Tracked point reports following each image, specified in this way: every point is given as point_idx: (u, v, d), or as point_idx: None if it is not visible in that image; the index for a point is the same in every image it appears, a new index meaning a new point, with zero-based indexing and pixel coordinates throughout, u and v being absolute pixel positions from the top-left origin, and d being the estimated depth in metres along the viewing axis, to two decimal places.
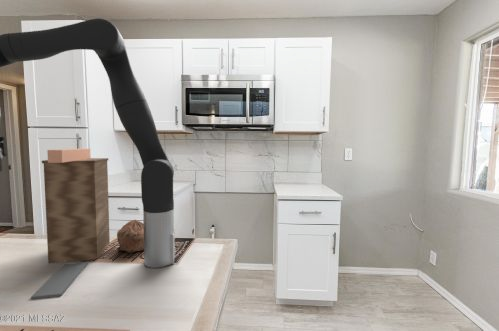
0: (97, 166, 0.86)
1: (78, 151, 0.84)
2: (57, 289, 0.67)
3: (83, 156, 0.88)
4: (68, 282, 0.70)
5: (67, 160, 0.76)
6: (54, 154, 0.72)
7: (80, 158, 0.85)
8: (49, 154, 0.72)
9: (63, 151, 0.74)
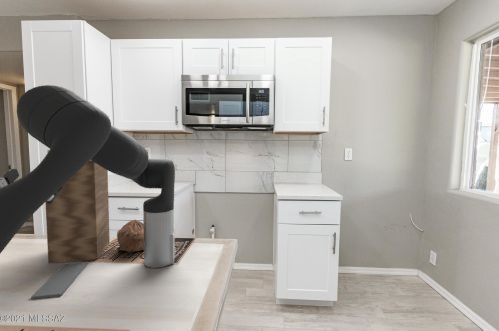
0: (97, 166, 0.86)
1: None
2: (57, 289, 0.67)
3: None
4: (68, 282, 0.70)
5: None
6: None
7: None
8: None
9: None
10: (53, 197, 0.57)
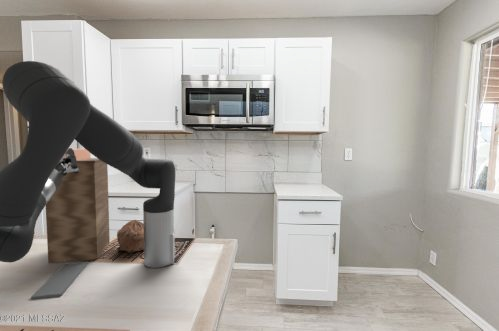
0: (97, 166, 0.86)
1: (78, 151, 0.84)
2: (57, 289, 0.67)
3: (83, 156, 0.88)
4: (68, 282, 0.70)
5: None
6: None
7: (80, 158, 0.85)
8: None
9: None
10: (78, 168, 0.73)
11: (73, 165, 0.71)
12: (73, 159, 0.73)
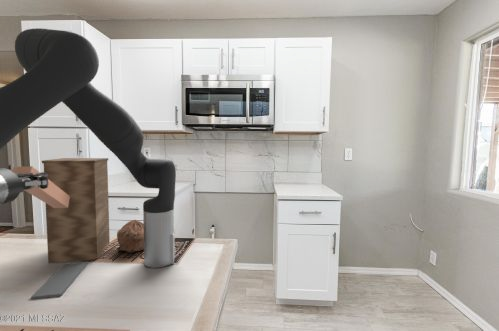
0: (97, 166, 0.86)
1: (54, 186, 0.68)
2: (57, 289, 0.67)
3: (59, 197, 0.71)
4: (68, 282, 0.70)
5: None
6: (20, 171, 0.58)
7: (54, 196, 0.69)
8: (14, 171, 0.57)
9: (33, 169, 0.59)
10: (47, 184, 0.56)
11: (41, 176, 0.55)
12: (43, 175, 0.57)
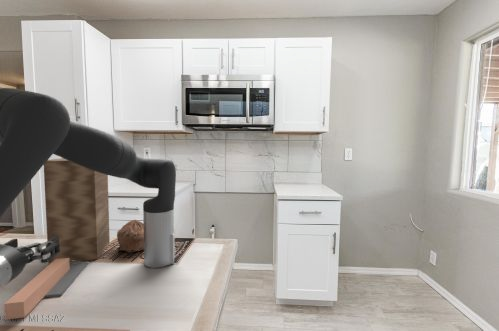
0: None
1: (51, 277, 0.67)
2: (57, 289, 0.67)
3: (58, 276, 0.71)
4: (68, 282, 0.70)
5: (33, 306, 0.59)
6: (13, 308, 0.55)
7: (54, 283, 0.68)
8: (7, 309, 0.55)
9: (26, 300, 0.57)
10: (49, 256, 0.56)
11: (42, 250, 0.55)
12: (52, 245, 0.58)
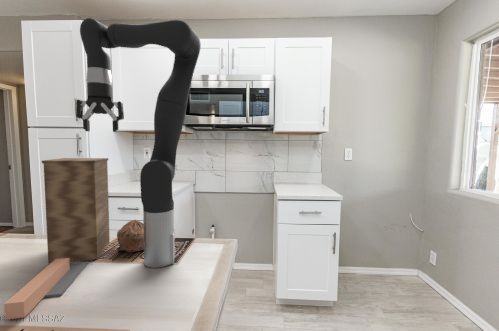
0: (97, 166, 0.86)
1: (51, 277, 0.67)
2: (57, 289, 0.67)
3: (58, 276, 0.71)
4: (68, 282, 0.70)
5: (33, 306, 0.59)
6: (13, 308, 0.55)
7: (54, 283, 0.68)
8: (7, 309, 0.55)
9: (26, 300, 0.57)
10: (121, 105, 0.90)
11: None
12: None
